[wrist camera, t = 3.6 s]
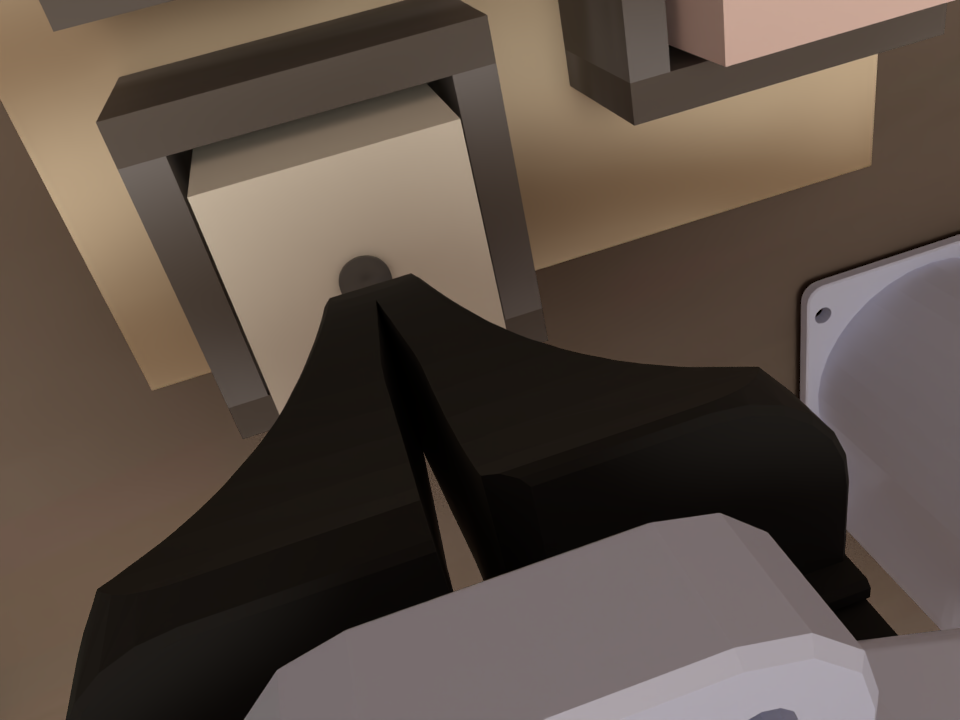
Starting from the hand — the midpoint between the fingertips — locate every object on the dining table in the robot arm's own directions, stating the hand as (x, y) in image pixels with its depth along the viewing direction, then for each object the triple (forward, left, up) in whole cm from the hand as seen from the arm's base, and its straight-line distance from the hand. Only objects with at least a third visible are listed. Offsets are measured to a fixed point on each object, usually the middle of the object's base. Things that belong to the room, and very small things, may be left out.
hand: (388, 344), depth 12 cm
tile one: (0, 0, -5) cm, 5 cm away
